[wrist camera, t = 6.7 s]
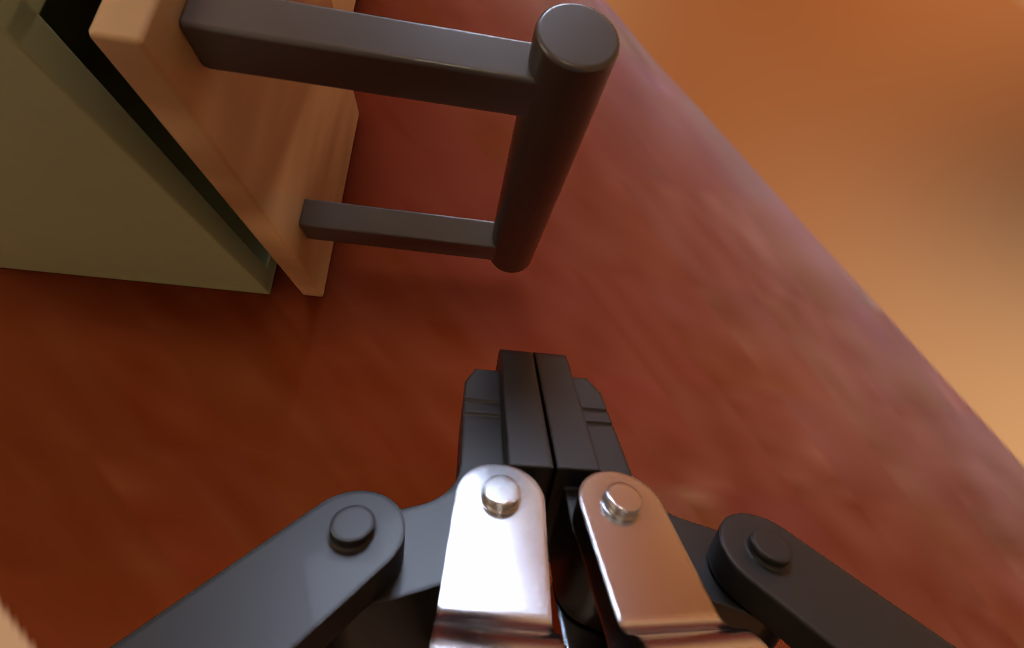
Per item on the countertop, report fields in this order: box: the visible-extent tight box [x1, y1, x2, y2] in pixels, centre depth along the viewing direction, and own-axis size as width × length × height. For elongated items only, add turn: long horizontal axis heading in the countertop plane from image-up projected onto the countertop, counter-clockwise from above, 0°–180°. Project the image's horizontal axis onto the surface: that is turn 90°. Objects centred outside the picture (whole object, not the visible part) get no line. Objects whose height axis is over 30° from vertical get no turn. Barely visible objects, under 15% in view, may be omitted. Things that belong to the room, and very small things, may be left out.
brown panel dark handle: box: [89, 0, 620, 297], centre depth 14 cm, size 9×9×12 cm
